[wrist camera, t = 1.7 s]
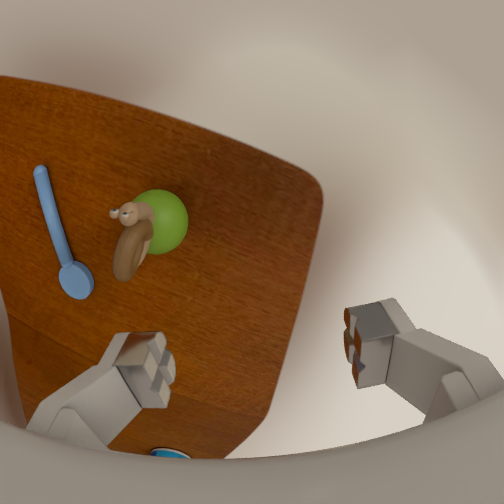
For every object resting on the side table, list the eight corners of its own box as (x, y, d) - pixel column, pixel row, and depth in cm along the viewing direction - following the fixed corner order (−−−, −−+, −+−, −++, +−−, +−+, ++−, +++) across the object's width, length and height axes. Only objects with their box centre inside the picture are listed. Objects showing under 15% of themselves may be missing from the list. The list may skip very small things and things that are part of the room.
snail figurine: (204, 183, 26) (166, 226, 15) (185, 247, 28) (146, 323, 17) (147, 166, 25) (76, 198, 14) (133, 230, 27) (70, 294, 16)
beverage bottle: (203, 463, 45) (192, 554, 27) (170, 467, 47) (155, 549, 29) (174, 443, 43) (155, 543, 24) (141, 448, 44) (118, 536, 26)
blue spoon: (30, 170, 25) (21, 173, 23) (57, 158, 24) (48, 160, 23) (71, 296, 31) (65, 303, 29) (99, 293, 30) (93, 300, 29)
